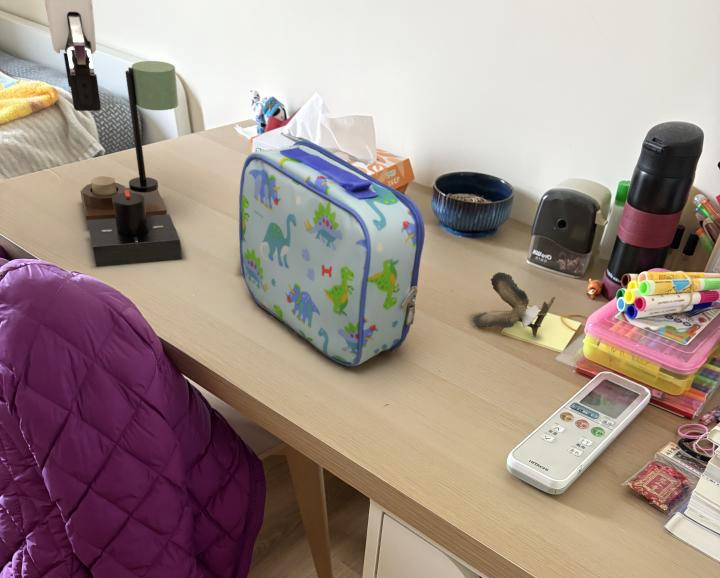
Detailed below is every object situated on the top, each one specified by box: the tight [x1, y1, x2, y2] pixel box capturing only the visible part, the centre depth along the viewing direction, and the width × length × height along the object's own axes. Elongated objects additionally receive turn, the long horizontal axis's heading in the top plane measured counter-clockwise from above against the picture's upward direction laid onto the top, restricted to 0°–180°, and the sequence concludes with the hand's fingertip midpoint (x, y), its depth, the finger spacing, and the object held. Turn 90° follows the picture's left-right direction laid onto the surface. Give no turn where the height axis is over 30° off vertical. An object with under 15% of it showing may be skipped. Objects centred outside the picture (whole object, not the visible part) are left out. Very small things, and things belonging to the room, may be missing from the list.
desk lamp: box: [124, 60, 179, 193], centre depth 108 cm, size 9×6×17 cm
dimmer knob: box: [112, 190, 148, 236], centre depth 102 cm, size 4×4×5 cm
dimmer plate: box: [86, 213, 183, 267], centre depth 105 cm, size 12×9×3 cm
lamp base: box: [79, 182, 168, 231], centre depth 113 cm, size 12×10×4 cm
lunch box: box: [238, 140, 426, 367], centre depth 87 cm, size 26×11×21 cm, turn 40°
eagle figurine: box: [473, 271, 556, 338], centre depth 95 cm, size 8×7×9 cm
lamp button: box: [90, 175, 117, 195], centre depth 111 cm, size 4×4×2 cm
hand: (84, 98), depth 93 cm, fingers open, 9 cm apart
